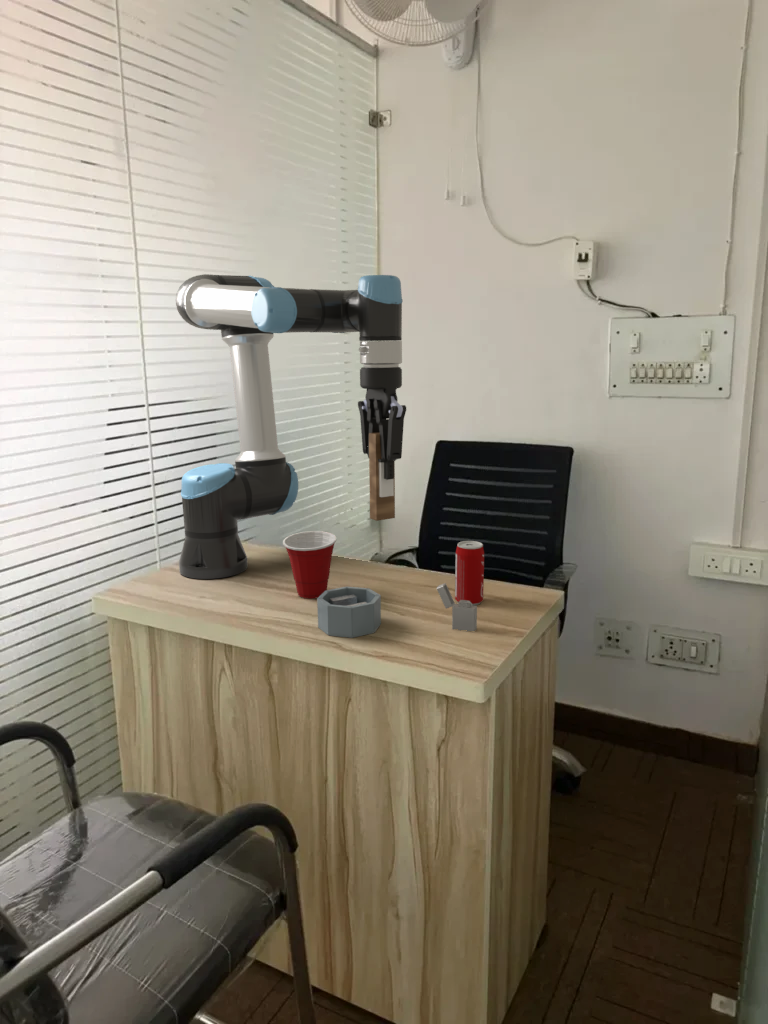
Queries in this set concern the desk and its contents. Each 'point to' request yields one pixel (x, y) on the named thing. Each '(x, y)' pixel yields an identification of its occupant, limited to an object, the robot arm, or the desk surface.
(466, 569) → the soda can
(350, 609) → the grey faceted bowl
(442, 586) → the lighter
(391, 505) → the brown wooden block
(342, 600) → the clip
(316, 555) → the plastic cup
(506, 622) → the desk surface
